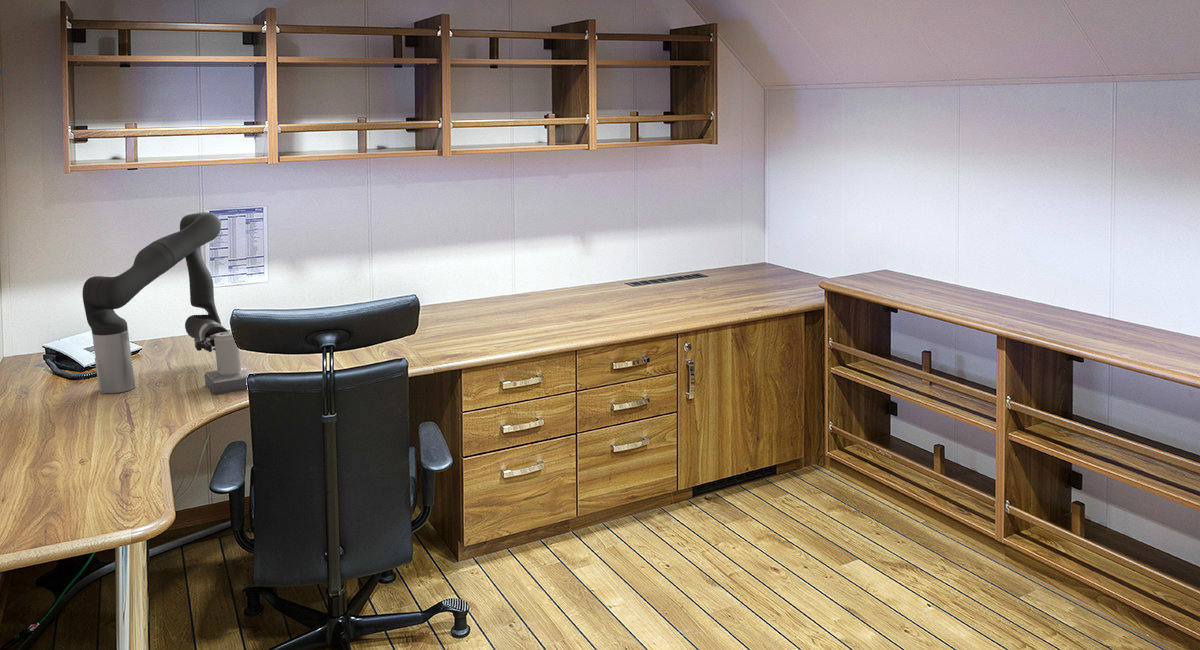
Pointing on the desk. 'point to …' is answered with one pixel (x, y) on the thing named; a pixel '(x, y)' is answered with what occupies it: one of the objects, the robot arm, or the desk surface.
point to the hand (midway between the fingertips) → (226, 346)
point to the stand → (226, 381)
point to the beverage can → (227, 354)
